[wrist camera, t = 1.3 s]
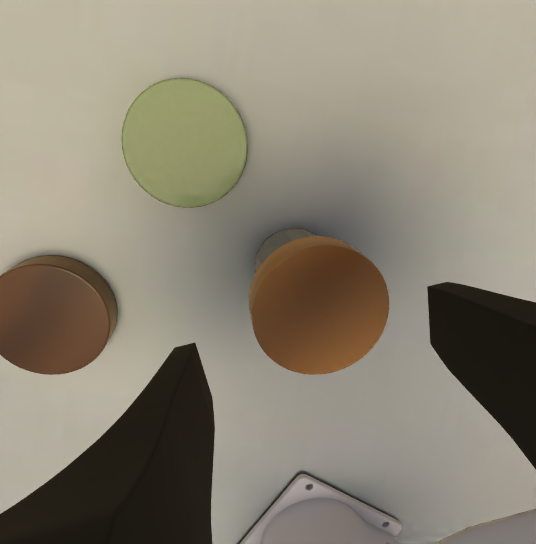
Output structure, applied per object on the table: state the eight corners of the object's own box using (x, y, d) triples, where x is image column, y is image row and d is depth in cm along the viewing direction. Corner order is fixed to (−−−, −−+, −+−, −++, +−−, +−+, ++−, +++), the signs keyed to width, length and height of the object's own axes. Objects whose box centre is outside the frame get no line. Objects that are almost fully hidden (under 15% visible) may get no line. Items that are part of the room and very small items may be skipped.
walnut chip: (138, 294, 22) (132, 305, 20) (82, 377, 23) (73, 394, 21) (31, 232, 20) (16, 239, 18) (-24, 325, 21) (-42, 339, 19)
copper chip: (400, 281, 18) (417, 294, 16) (322, 375, 19) (332, 396, 17) (301, 209, 16) (310, 216, 15) (222, 316, 17) (223, 332, 16)
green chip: (267, 132, 20) (271, 131, 18) (204, 224, 21) (203, 230, 19) (168, 56, 18) (164, 48, 17) (106, 159, 19) (97, 160, 18)
